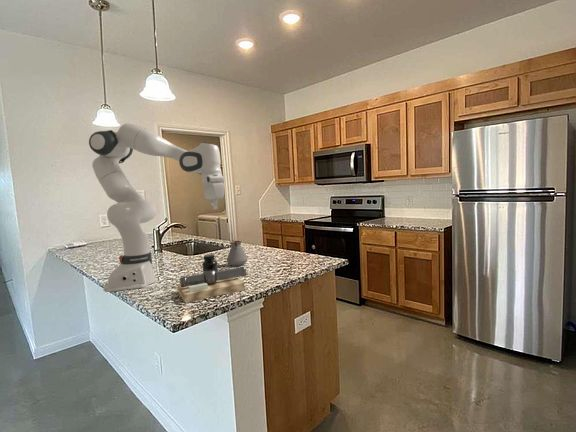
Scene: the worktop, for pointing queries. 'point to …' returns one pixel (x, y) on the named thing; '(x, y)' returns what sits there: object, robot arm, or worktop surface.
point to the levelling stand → (210, 289)
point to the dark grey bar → (212, 276)
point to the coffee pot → (236, 254)
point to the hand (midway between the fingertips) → (214, 209)
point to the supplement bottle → (209, 263)
